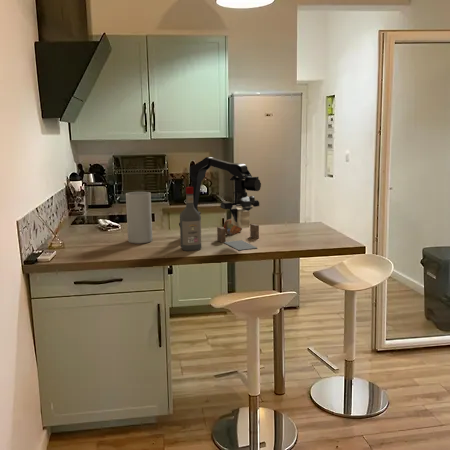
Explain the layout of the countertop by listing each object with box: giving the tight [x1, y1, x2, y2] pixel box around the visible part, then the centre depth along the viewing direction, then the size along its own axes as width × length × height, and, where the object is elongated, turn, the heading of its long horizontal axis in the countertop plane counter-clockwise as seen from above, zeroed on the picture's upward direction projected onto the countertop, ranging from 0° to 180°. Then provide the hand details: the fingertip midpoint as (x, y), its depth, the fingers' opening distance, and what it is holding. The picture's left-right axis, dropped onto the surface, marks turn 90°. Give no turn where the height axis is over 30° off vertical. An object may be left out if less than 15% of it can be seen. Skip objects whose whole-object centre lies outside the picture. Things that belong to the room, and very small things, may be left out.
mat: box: [223, 239, 258, 252], centre depth 260 cm, size 10×18×1 cm, turn 24°
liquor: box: [179, 186, 202, 252], centre depth 252 cm, size 9×9×30 cm
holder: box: [216, 223, 260, 244], centre depth 273 cm, size 21×6×7 cm, turn 114°
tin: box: [223, 218, 243, 236], centre depth 288 cm, size 15×3×8 cm, turn 143°
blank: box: [230, 207, 250, 229], centre depth 257 cm, size 12×4×8 cm, turn 24°
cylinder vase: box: [125, 191, 153, 245], centre depth 270 cm, size 12×12×25 cm
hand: (240, 221), depth 258 cm, fingers closed on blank, 4 cm apart
